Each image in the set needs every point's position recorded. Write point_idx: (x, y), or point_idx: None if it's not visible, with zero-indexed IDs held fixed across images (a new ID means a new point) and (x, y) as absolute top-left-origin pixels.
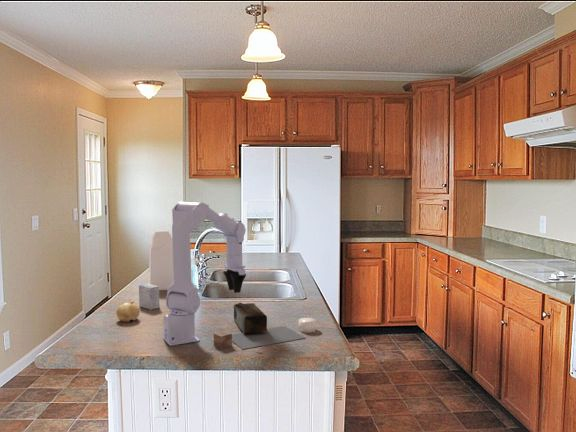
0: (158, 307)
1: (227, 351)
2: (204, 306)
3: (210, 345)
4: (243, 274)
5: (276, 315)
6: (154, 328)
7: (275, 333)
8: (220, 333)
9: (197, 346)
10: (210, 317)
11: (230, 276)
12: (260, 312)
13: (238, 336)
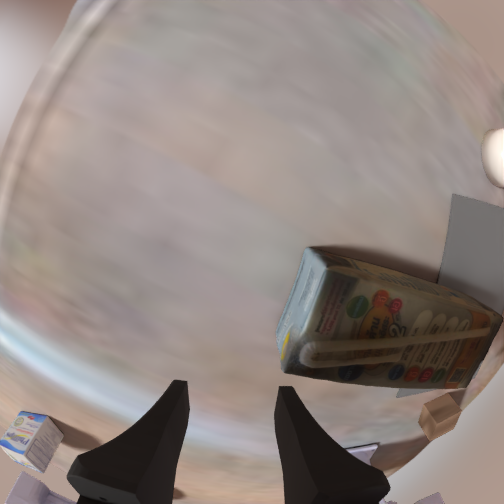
0: (49, 419)
1: (456, 403)
2: (43, 326)
3: (411, 427)
4: (431, 501)
5: (315, 116)
6: (221, 482)
7: (478, 268)
8: (441, 430)
9: (395, 445)
10: (184, 378)
11: (167, 486)
12: (487, 334)
13: None
